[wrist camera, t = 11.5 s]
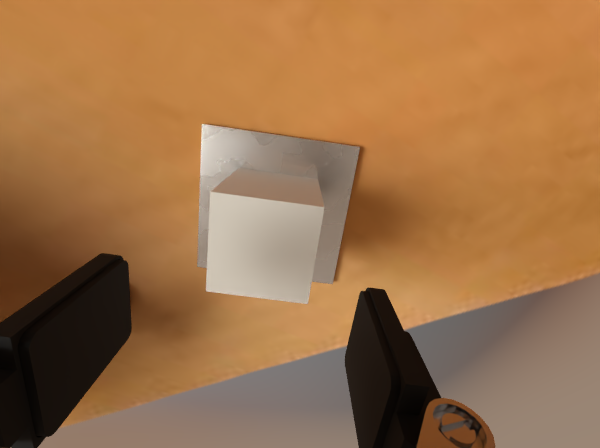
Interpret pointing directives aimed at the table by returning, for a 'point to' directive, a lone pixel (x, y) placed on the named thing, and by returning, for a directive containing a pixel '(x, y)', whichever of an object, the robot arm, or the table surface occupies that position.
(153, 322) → the table surface
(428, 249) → the table surface
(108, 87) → the table surface
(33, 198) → the table surface
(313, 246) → the white rectangular block
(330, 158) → the metal square plate
